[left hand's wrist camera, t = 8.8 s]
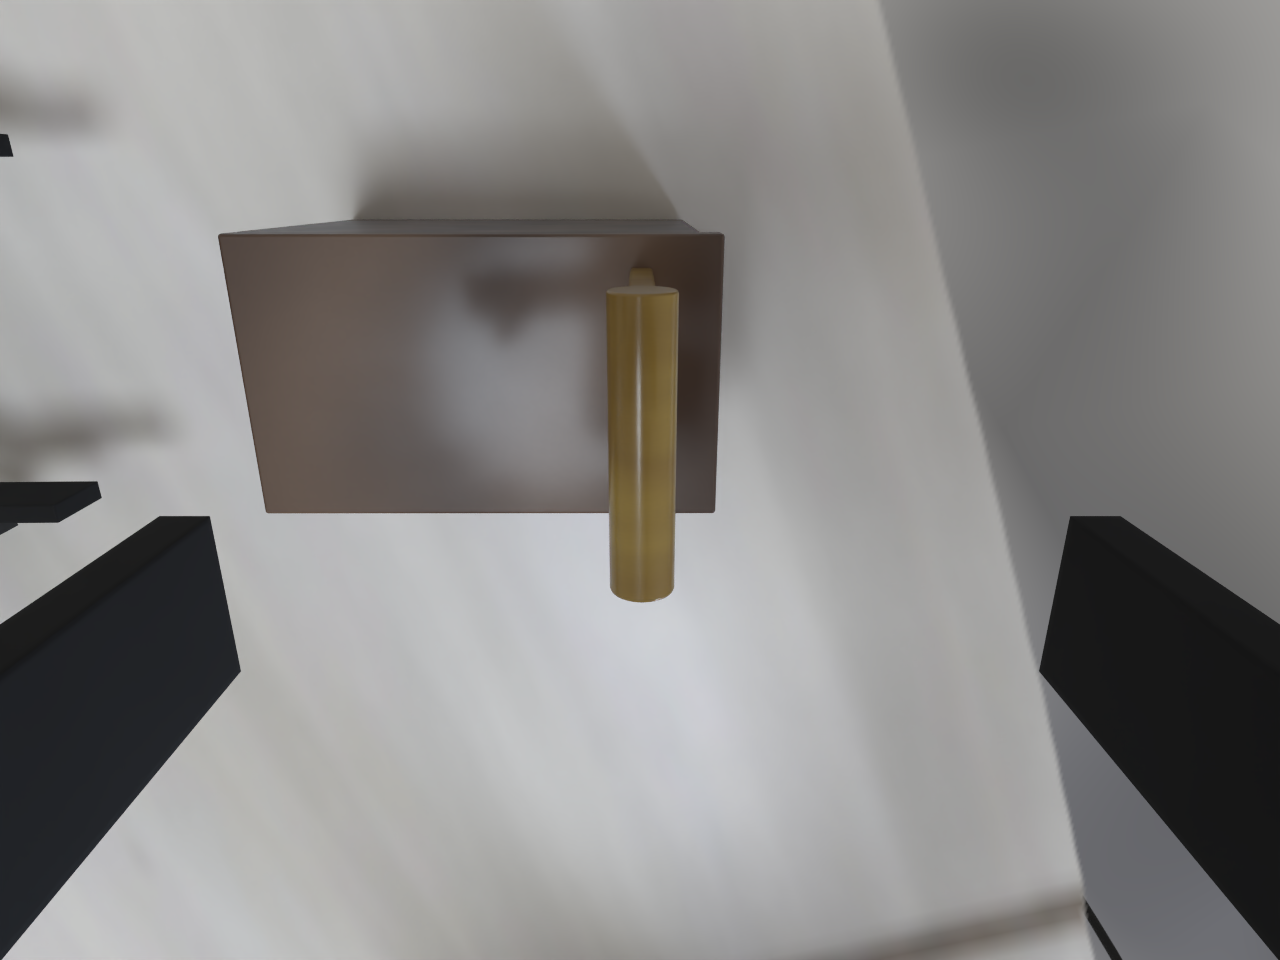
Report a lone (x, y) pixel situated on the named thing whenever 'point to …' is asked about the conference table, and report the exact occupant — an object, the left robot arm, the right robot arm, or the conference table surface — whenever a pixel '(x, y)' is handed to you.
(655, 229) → the chest
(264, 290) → the lid
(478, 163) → the conference table surface
